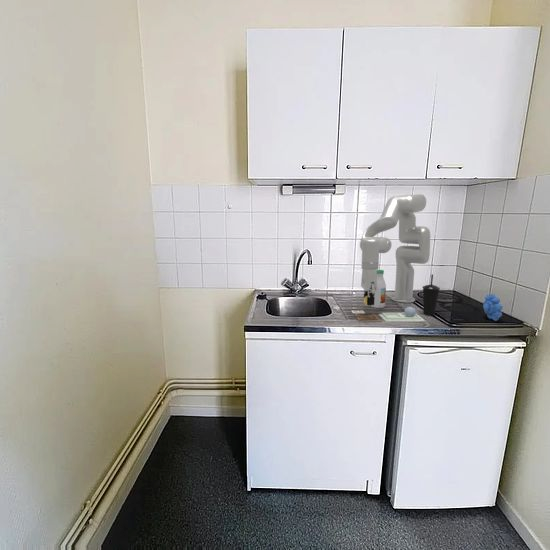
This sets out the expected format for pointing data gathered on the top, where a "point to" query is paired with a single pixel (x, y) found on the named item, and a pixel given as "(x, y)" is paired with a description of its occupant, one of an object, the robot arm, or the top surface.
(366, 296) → the ochre ball
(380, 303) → the milk bottle
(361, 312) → the tile
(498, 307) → the grapes
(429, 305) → the drinking cup
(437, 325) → the top surface
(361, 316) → the coaster
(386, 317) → the rack
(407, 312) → the slate ball
